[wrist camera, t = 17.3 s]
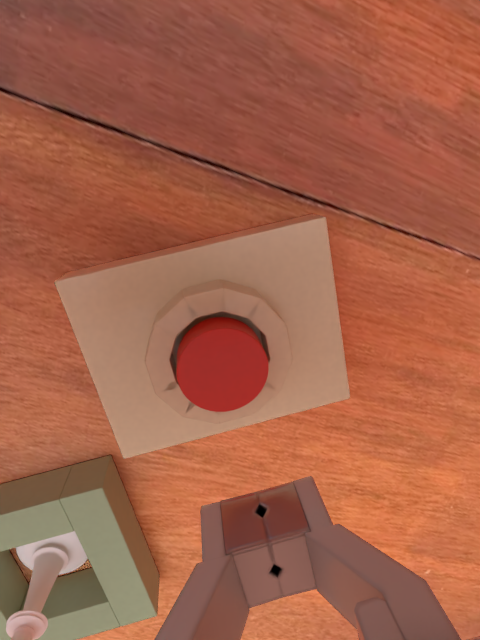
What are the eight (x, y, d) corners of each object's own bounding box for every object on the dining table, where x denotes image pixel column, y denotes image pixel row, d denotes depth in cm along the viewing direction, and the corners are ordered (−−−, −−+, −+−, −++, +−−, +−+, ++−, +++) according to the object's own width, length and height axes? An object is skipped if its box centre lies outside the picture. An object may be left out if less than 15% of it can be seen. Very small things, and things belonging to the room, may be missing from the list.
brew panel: (128, 437, 25) (118, 481, 21) (65, 272, 21) (40, 290, 18) (337, 381, 26) (363, 414, 22) (312, 213, 22) (339, 218, 18)
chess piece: (86, 570, 28) (38, 762, 19) (12, 561, 27) (-77, 761, 18) (102, 516, 27) (58, 694, 17) (25, 505, 26) (-65, 689, 16)
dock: (8, 618, 29) (-11, 665, 26) (-65, 501, 25) (-97, 541, 22) (159, 574, 29) (157, 616, 26) (111, 454, 25) (102, 487, 23)
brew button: (189, 403, 21) (189, 422, 19) (166, 328, 19) (164, 341, 18) (269, 382, 21) (276, 399, 20) (252, 306, 20) (259, 318, 18)
